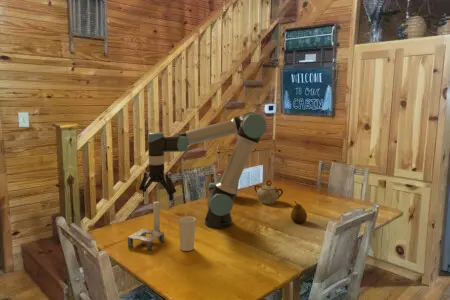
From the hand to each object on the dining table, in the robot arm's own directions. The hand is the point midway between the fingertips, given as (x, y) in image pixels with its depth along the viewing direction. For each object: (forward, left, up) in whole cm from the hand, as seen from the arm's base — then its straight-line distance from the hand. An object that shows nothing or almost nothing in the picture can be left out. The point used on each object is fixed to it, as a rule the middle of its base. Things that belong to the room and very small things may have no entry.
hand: (157, 205), depth 185 cm
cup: (-23, +11, -15) cm, 29 cm away
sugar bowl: (-37, -77, -15) cm, 86 cm away
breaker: (-3, +14, -14) cm, 20 cm away
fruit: (-63, -48, -15) cm, 80 cm away
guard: (-3, +14, -15) cm, 21 cm away
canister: (-8, -76, -15) cm, 78 cm away
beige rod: (+1, 0, -15) cm, 15 cm away
